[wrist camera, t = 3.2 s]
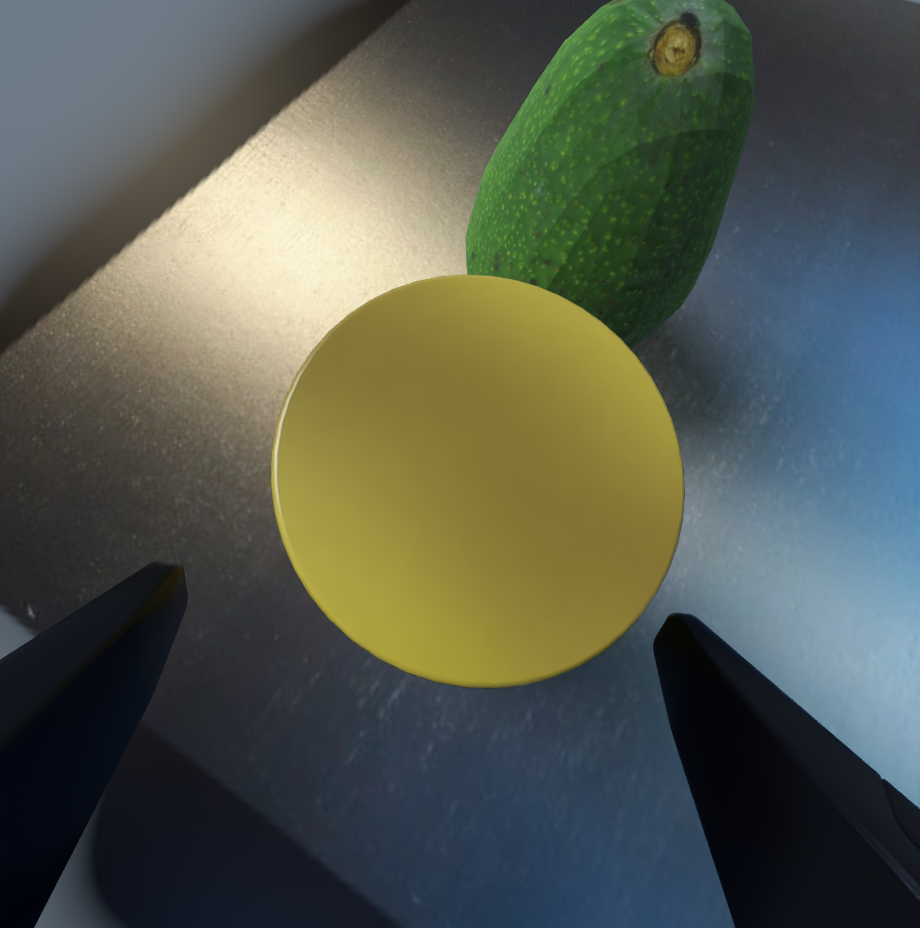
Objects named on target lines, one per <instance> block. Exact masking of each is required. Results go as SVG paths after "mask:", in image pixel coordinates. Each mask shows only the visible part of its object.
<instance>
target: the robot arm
mask: <svg viewBox="0 0 920 928" xmlns="http://www.w3.org/2000/svg"><path fill="white" fill-rule="evenodd" d="M187 598H188V596H187V588H186V581H185V573H184V568H183V566H182V564H181V563H178V562H169V561H154V562H152V563H150V564H149V565H147V566H145V567H144V568H142V569H141V570H139V571H138V572H136V573H135V574H133V575H131V576H130V577H128V578H127V579H125V580H124V581H122V582H120V583H119V584H117V585H116V586H114V587H113V588H111V589H110V590H108V591H106V592H105V593H103V594H102V595H100V596H99V597H97V598H96V599H94V600H92V601H91V602H89V603H88V604H86V605H85V606H83V607H82V608H80V609H78V610H77V611H75V612H74V613H72V614H71V615H69V616H68V617H66V618H64V619H63V620H61V621H60V622H58V623H57V624H55V625H54V626H52V627H50V628H49V629H47V630H46V631H44V632H43V633H41V634H39V635H38V636H36V637H35V638H33V639H32V640H30V641H29V642H27V643H25V644H24V645H22V646H21V647H19V648H18V649H16V650H15V651H13V652H11V653H10V654H8V655H7V656H5V657H4V658H2V659H1V660H0V928H34V927H35V925H36V923H37V921H38V919H39V917H40V915H41V913H42V911H43V909H44V907H45V905H46V903H47V902H48V900H49V898H50V896H51V894H52V892H53V890H54V888H55V886H56V884H57V882H58V880H59V877H60V876H61V874H62V872H63V870H64V868H65V866H66V864H67V862H68V860H69V859H70V857H71V855H72V853H73V851H74V849H75V847H76V845H77V843H78V841H79V839H80V837H81V835H82V833H83V831H84V829H85V827H86V825H87V823H88V821H89V819H90V817H91V815H92V813H93V812H94V809H95V808H96V806H97V804H98V802H99V800H100V798H101V796H102V794H103V792H104V790H105V788H106V786H107V784H108V782H109V780H110V778H111V776H112V774H113V773H114V771H115V769H116V766H117V764H118V763H119V761H120V759H121V757H122V755H123V753H124V751H125V749H126V747H127V745H128V743H129V741H130V739H131V737H132V735H133V733H134V731H135V729H136V727H137V726H138V724H139V722H140V720H141V718H142V716H143V714H144V712H145V710H146V708H147V706H148V704H149V702H150V700H151V697H152V695H153V693H154V690H155V688H156V685H157V683H158V680H159V678H160V675H161V673H162V670H163V667H164V665H165V662H166V659H167V657H168V654H169V652H170V649H171V646H172V644H173V641H174V638H175V636H176V633H177V631H178V628H179V625H180V623H181V620H182V617H183V615H184V612H185V609H186V606H187ZM653 651H654V657H655V661H656V666H657V670H658V675H659V679H660V684H661V688H662V693H663V697H664V702H665V706H666V711H667V715H668V719H669V723H670V727H671V731H672V734H673V737H674V741H675V744H676V747H677V750H678V753H679V756H680V759H681V762H682V765H683V769H684V772H685V775H686V778H687V781H688V784H689V787H690V790H691V793H692V796H693V799H694V802H695V805H696V809H697V812H698V815H699V818H700V821H701V824H702V827H703V830H704V833H705V836H706V839H707V842H708V845H709V848H710V852H711V855H712V858H713V861H714V864H715V867H716V870H717V873H718V876H719V879H720V882H721V885H722V888H723V891H724V895H725V898H726V901H727V904H728V907H729V910H730V913H731V916H732V919H733V922H734V925H735V928H920V809H919V808H918V807H917V806H916V805H915V804H913V803H912V802H911V801H910V800H909V799H907V798H906V797H905V796H904V795H903V794H902V793H901V792H899V791H898V790H897V789H896V788H895V787H894V786H892V785H891V784H890V783H889V782H888V781H887V780H885V779H881V776H880V775H879V774H878V773H877V772H876V771H875V770H874V769H872V768H871V767H870V766H869V765H868V764H867V763H865V762H864V761H863V760H862V759H861V758H860V757H858V756H857V755H856V754H855V753H854V752H853V751H852V750H850V749H849V748H848V747H847V746H846V745H845V744H843V743H842V742H841V741H840V740H839V739H838V738H836V737H835V736H834V735H833V734H832V733H831V732H829V731H828V730H827V729H826V728H825V727H824V726H822V725H821V724H820V723H819V722H818V721H817V720H815V719H814V718H813V717H812V716H811V715H810V714H808V713H807V712H806V711H805V710H804V709H803V708H801V707H800V706H799V705H798V704H797V703H796V702H794V701H793V700H792V699H791V698H790V697H789V696H787V695H786V694H785V693H784V692H783V691H782V690H780V689H779V688H778V687H777V686H776V685H775V684H773V683H772V682H771V681H770V680H769V679H768V678H766V677H765V676H764V675H763V674H762V673H761V672H760V671H758V670H757V669H756V668H755V667H754V666H753V665H751V664H750V663H749V662H748V661H747V660H746V659H744V658H743V657H742V656H741V655H740V654H739V653H737V652H736V651H735V650H734V649H733V648H732V647H730V646H729V645H728V644H727V643H726V642H725V641H723V640H722V639H721V638H720V637H719V636H718V635H716V634H715V633H714V632H713V631H712V630H711V629H709V628H708V627H707V626H706V625H705V624H704V623H702V622H701V621H700V620H699V619H698V618H697V617H695V616H694V615H691V614H685V613H672V614H670V615H669V616H668V617H667V619H666V620H665V622H664V624H663V625H662V627H661V629H660V630H659V632H658V634H657V635H656V637H655V639H654V643H653Z"/></svg>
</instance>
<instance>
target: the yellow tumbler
mask: <svg viewBox="0 0 920 928" xmlns="http://www.w3.org/2000/svg"><path fill="white" fill-rule="evenodd" d="M271 488H272V496H273V504H274V512H275V516H276V520H277V524H278V527H279V531H280V535H281V539H282V542H283V544H284V547H285V549H286V551H287V554H288V556H289V558H290V561H291V563H292V565H293V568H294V570H295V572H296V573H297V575H298V576H299V578H300V580H301V581H302V583H303V585H304V586H305V588H306V590H307V591H308V593H309V595H310V596H311V597H312V599H313V600H314V601H315V602H316V604H317V605H318V606H319V607H320V608H321V610H322V611H323V612H324V613H325V615H326V616H327V617H328V618H329V620H330V621H332V622H333V623H334V624H335V625H336V626H337V627H338V628H339V629H340V630H341V631H342V632H343V633H344V634H346V635H347V636H348V637H349V638H350V639H351V640H352V641H353V642H355V643H356V644H358V645H359V646H361V647H362V648H363V649H365V650H366V651H368V652H369V653H371V654H372V655H373V656H375V657H376V658H378V659H380V660H382V661H384V662H386V663H388V664H390V665H392V666H394V667H396V668H398V669H400V670H402V671H404V672H406V673H408V674H411V675H414V676H417V677H420V678H423V679H426V680H429V681H432V682H436V683H441V684H447V685H452V686H458V687H463V688H485V689H498V688H507V687H516V686H524V685H528V684H532V683H536V682H540V681H544V680H547V679H551V678H554V677H556V676H559V675H561V674H563V673H566V672H568V671H570V670H573V669H575V668H578V667H579V666H581V665H583V664H584V663H586V662H588V661H589V660H591V659H593V658H594V657H596V656H598V655H599V654H601V653H602V652H603V651H605V650H606V649H607V648H608V647H610V646H611V645H612V644H613V643H614V642H616V641H617V640H618V639H619V638H621V637H622V636H623V635H624V634H625V633H626V632H627V631H628V630H629V628H630V627H631V626H632V625H633V624H634V623H635V622H636V621H637V620H638V619H639V618H640V616H641V615H642V614H643V613H644V611H645V610H646V608H647V607H648V606H649V604H650V603H651V601H652V600H653V598H654V597H655V595H656V594H657V592H658V590H659V588H660V586H661V584H662V582H663V581H664V579H665V577H666V575H667V573H668V571H669V568H670V565H671V563H672V560H673V557H674V554H675V551H676V548H677V545H678V541H679V536H680V531H681V526H682V521H683V511H684V499H685V487H684V468H683V462H682V456H681V450H680V444H679V441H678V437H677V434H676V431H675V427H674V424H673V420H672V418H671V416H670V413H669V411H668V409H667V406H666V404H665V401H664V399H663V397H662V395H661V393H660V392H659V390H658V388H657V386H656V384H655V383H654V381H653V379H652V377H651V376H650V374H649V373H648V372H647V370H646V369H645V367H644V366H643V365H642V363H641V362H640V360H639V359H638V358H637V356H636V355H635V354H634V353H633V352H632V351H631V350H630V348H629V347H628V346H627V345H626V344H625V343H624V342H623V341H622V340H621V339H620V338H619V337H618V336H617V335H616V334H615V333H614V332H613V331H612V330H610V329H609V328H608V327H607V326H606V325H605V324H604V323H603V322H601V321H600V320H599V319H597V318H596V317H594V316H593V315H591V314H590V313H589V312H587V311H586V310H584V309H583V308H582V307H580V306H578V305H576V304H574V303H572V302H571V301H569V300H567V299H565V298H563V297H561V296H560V295H557V294H555V293H552V292H550V291H547V290H545V289H543V288H540V287H538V286H534V285H531V284H527V283H524V282H520V281H517V280H513V279H506V278H500V277H494V276H483V275H455V276H441V277H436V278H431V279H426V280H421V281H416V282H413V283H410V284H407V285H404V286H401V287H398V288H395V289H392V290H390V291H388V292H386V293H384V294H382V295H380V296H378V297H376V298H374V299H372V300H370V301H368V302H367V303H365V304H364V305H362V306H361V307H359V308H358V309H356V310H355V311H353V312H352V313H350V314H349V315H347V316H346V317H345V318H344V319H343V320H342V321H341V322H339V323H338V324H337V325H336V326H335V327H334V328H332V329H331V330H330V331H329V332H328V333H327V334H326V335H325V336H324V338H323V339H322V340H321V341H320V342H319V343H318V344H317V346H316V347H315V348H314V349H313V350H312V351H311V353H310V354H309V356H308V357H307V359H306V360H305V362H304V363H303V365H302V366H301V368H300V369H299V371H298V372H297V374H296V376H295V378H294V380H293V382H292V384H291V386H290V388H289V390H288V393H287V395H286V397H285V399H284V402H283V405H282V408H281V412H280V415H279V418H278V421H277V424H276V429H275V435H274V441H273V448H272V454H271Z"/></svg>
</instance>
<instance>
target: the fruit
mask: <svg viewBox="0 0 920 928" xmlns="http://www.w3.org/2000/svg"><path fill="white" fill-rule="evenodd" d="M753 108H754V62H753V50H752V37H751V33H750V32H749V30H748V29H747V27H746V26H745V24H744V23H743V21H742V20H741V18H740V17H739V15H738V14H737V12H736V11H735V9H734V8H733V7H732V6H731V5H729V4H728V3H727V2H725V1H724V0H613V1H611V2H610V3H608V4H606V5H604V6H603V7H601V8H599V9H598V10H597V11H596V12H595V13H594V14H593V15H592V16H591V17H590V18H589V19H588V20H587V21H586V22H585V23H584V24H583V25H582V26H580V27H579V28H578V29H577V30H576V31H575V32H574V33H573V34H572V35H571V36H570V37H569V38H568V39H567V40H566V41H565V42H564V43H563V44H562V46H561V47H560V49H559V50H558V52H557V53H556V54H555V56H554V57H553V59H552V60H551V62H550V63H549V65H548V66H547V68H546V69H545V71H544V72H543V74H542V75H541V77H540V78H539V80H538V81H537V82H536V84H535V85H534V87H533V89H532V90H531V92H530V94H529V95H528V97H527V98H526V100H525V102H524V103H523V105H522V107H521V108H520V110H519V111H518V113H517V115H516V116H515V118H514V120H513V121H512V123H511V124H510V126H509V128H508V129H507V131H506V133H505V134H504V136H503V138H502V139H501V141H500V143H499V144H498V146H497V148H496V149H495V151H494V153H493V155H492V157H491V159H490V161H489V163H488V165H487V167H486V169H485V171H484V174H483V178H482V181H481V184H480V187H479V190H478V193H477V196H476V200H475V203H474V206H473V209H472V213H471V217H470V221H469V225H468V230H467V234H466V262H467V273H468V275H483V276H494V277H500V278H506V279H513V280H517V281H520V282H524V283H527V284H531V285H534V286H538V287H540V288H543V289H545V290H547V291H550V292H552V293H555V294H557V295H560V296H561V297H563V298H565V299H567V300H569V301H571V302H572V303H574V304H576V305H578V306H580V307H582V308H583V309H584V310H586V311H587V312H589V313H590V314H591V315H593V316H594V317H596V318H597V319H599V320H600V321H601V322H603V323H604V324H605V325H606V326H607V327H608V328H609V329H610V330H612V331H613V332H614V333H615V334H616V335H617V336H618V337H619V338H620V339H621V340H622V341H623V342H624V343H625V344H626V345H627V346H628V347H629V348H630V349H632V348H633V347H634V346H636V345H637V344H638V343H640V342H641V341H642V340H643V339H645V338H646V337H647V336H649V335H650V334H651V333H652V332H653V331H654V330H655V329H657V328H658V327H659V326H660V325H661V324H662V323H663V322H664V321H665V320H666V319H668V318H669V317H670V316H671V315H672V314H673V313H674V312H675V311H676V310H677V309H679V308H680V307H681V305H682V304H683V302H684V301H685V299H686V298H687V296H688V295H689V293H690V292H691V290H692V289H693V287H694V285H695V283H696V280H697V278H698V276H699V274H700V272H701V270H702V268H703V266H704V264H705V261H706V259H707V257H708V255H709V253H710V251H711V249H712V246H713V243H714V240H715V237H716V234H717V232H718V229H719V225H720V222H721V219H722V215H723V212H724V209H725V205H726V202H727V198H728V195H729V192H730V189H731V186H732V183H733V180H734V177H735V173H736V170H737V167H738V164H739V160H740V157H741V153H742V149H743V145H744V142H745V138H746V134H747V130H748V127H749V123H750V119H751V115H752V112H753Z"/></svg>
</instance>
